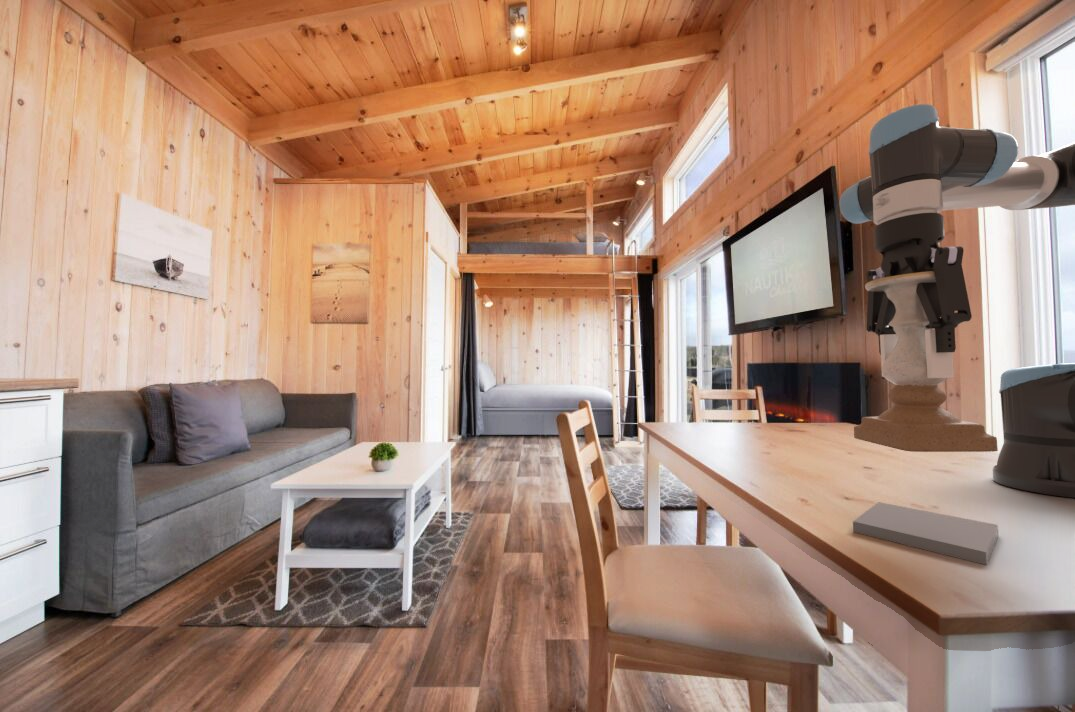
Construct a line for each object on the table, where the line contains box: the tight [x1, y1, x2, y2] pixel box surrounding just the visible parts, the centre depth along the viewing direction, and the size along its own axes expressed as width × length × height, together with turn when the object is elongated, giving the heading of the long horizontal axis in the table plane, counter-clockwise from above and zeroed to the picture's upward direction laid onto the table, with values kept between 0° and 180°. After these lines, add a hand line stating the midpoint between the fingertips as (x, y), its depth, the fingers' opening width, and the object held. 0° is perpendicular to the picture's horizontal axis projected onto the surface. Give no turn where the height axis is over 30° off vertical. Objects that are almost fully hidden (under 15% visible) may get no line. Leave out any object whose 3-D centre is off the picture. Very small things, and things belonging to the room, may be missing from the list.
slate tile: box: [852, 501, 999, 566], centre depth 58 cm, size 13×13×2 cm
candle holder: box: [853, 271, 999, 453], centre depth 58 cm, size 11×11×24 cm
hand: (915, 376), depth 58 cm, fingers closed on candle holder, 7 cm apart
